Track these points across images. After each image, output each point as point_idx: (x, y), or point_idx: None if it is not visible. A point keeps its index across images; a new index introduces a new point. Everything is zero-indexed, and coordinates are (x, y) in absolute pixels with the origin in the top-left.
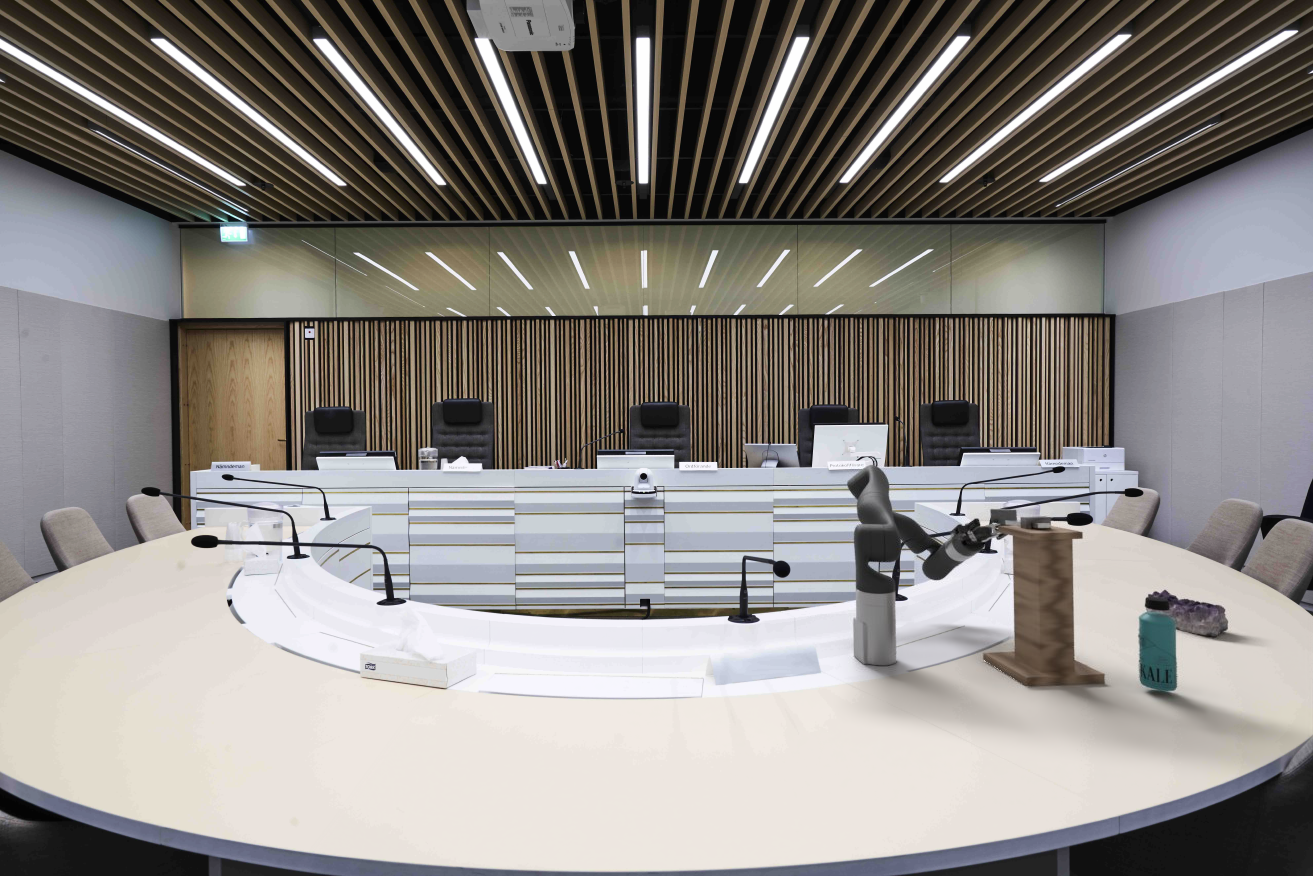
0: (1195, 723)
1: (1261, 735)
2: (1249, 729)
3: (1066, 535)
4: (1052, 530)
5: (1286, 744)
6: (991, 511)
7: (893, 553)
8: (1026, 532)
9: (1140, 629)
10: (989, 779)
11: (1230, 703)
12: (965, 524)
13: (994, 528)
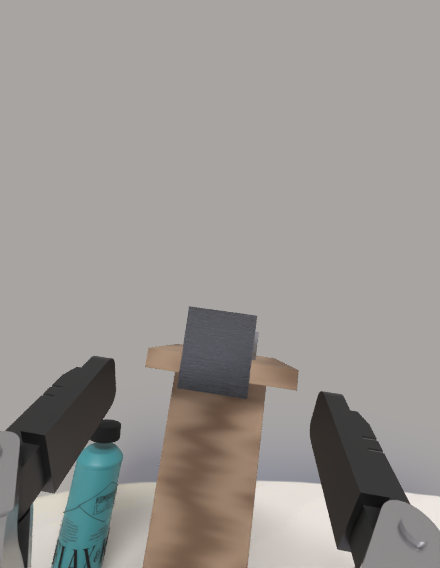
0: (145, 520)
1: (120, 495)
2: (114, 502)
3: None
4: None
5: (122, 485)
6: (254, 328)
7: None
8: (276, 359)
9: (112, 481)
10: None
11: (40, 533)
12: (435, 534)
13: (18, 556)
